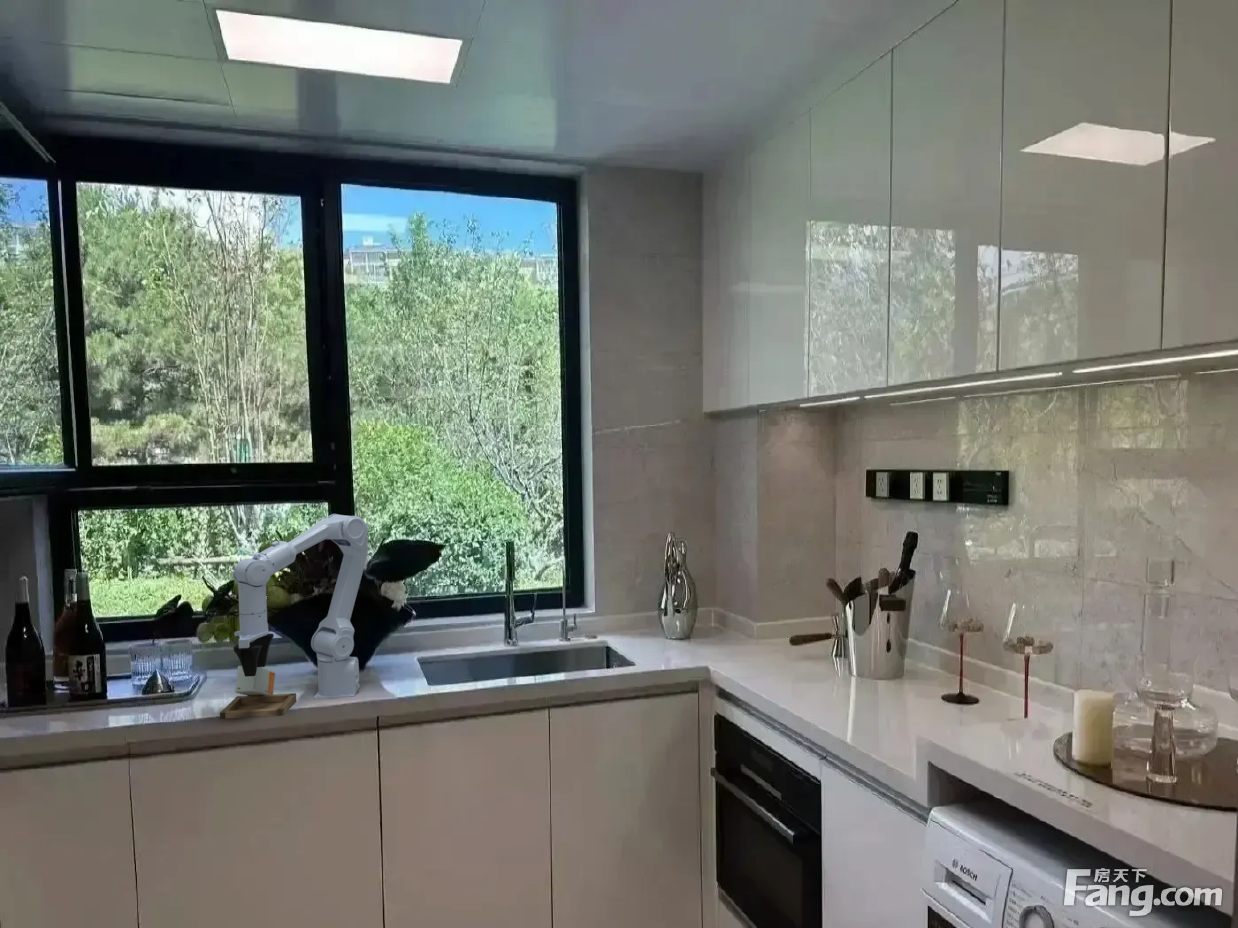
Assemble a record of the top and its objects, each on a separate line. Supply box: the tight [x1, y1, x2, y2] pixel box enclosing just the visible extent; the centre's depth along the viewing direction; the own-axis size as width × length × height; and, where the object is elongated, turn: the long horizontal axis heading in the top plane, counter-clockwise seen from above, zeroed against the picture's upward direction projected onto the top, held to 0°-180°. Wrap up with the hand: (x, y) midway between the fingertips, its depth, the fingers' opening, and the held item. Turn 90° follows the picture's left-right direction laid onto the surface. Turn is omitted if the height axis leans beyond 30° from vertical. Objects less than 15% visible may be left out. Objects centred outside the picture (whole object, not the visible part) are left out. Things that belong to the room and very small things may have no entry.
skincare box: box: [234, 665, 276, 696], centre depth 194 cm, size 6×4×12 cm
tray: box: [219, 692, 297, 720], centre depth 188 cm, size 13×11×2 cm
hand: (255, 671), depth 186 cm, fingers open, 6 cm apart
